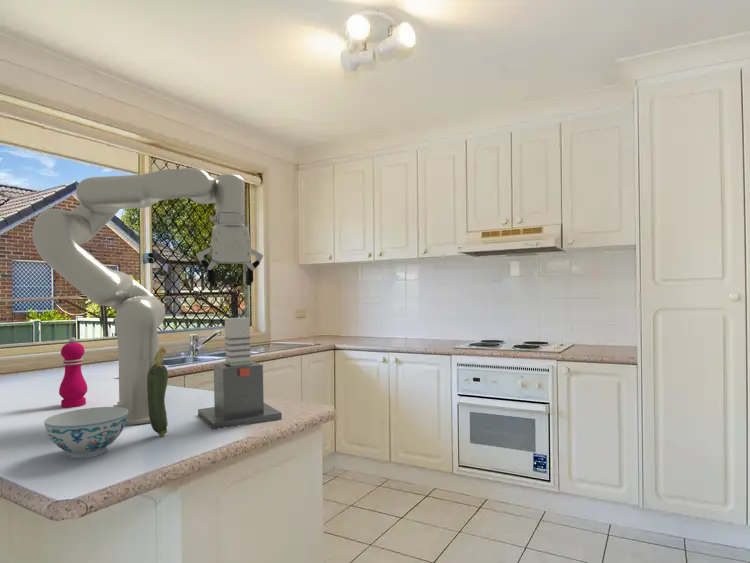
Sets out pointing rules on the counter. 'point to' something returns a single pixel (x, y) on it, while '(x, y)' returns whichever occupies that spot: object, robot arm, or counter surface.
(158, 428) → the vegetable
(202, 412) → the stand base
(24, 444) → the counter surface
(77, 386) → the pepper mill
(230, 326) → the column
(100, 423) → the chinaware
